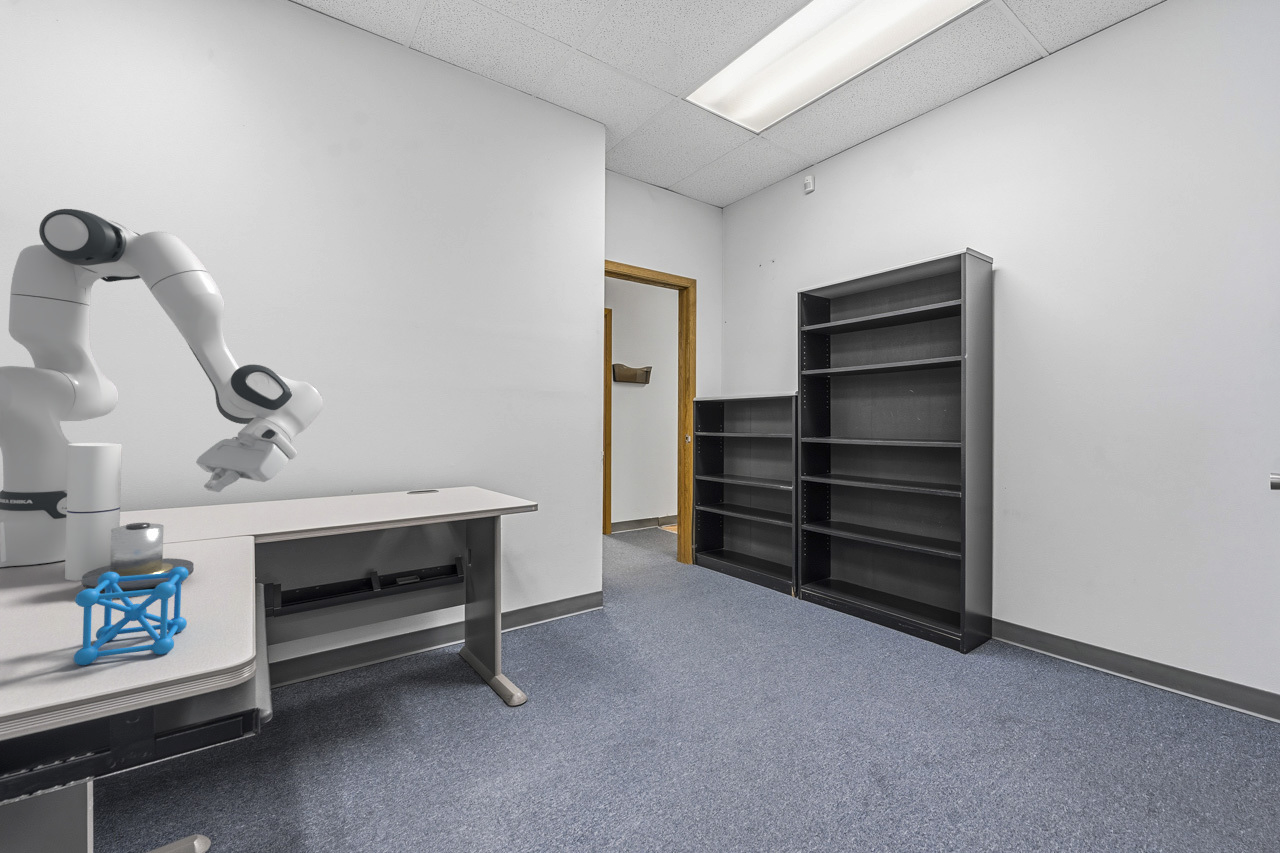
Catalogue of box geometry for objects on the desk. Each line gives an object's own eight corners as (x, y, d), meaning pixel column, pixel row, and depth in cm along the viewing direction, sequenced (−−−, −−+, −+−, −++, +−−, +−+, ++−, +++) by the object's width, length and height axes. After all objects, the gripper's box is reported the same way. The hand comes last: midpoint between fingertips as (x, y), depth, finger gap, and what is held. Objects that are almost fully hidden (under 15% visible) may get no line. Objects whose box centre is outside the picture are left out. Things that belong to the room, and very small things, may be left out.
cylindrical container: (56, 582, 98) (60, 445, 97) (75, 570, 104) (78, 442, 103) (109, 578, 101) (113, 446, 100) (124, 567, 107) (128, 443, 107)
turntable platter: (56, 585, 92) (56, 578, 92) (147, 561, 107) (147, 555, 107) (132, 594, 90) (132, 586, 90) (213, 568, 105) (214, 562, 105)
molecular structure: (171, 656, 74) (174, 584, 73) (69, 670, 69) (72, 592, 68) (188, 628, 82) (190, 563, 82) (98, 639, 77) (100, 570, 77)
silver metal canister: (98, 574, 95) (99, 526, 95) (140, 563, 102) (141, 519, 102) (132, 578, 94) (133, 530, 94) (172, 567, 101) (173, 522, 101)
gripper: (221, 426, 120) (167, 473, 111) (284, 434, 112) (231, 485, 103) (241, 446, 124) (190, 492, 115) (303, 455, 116) (254, 505, 108)
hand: (210, 489), depth 109 cm, fingers closed
